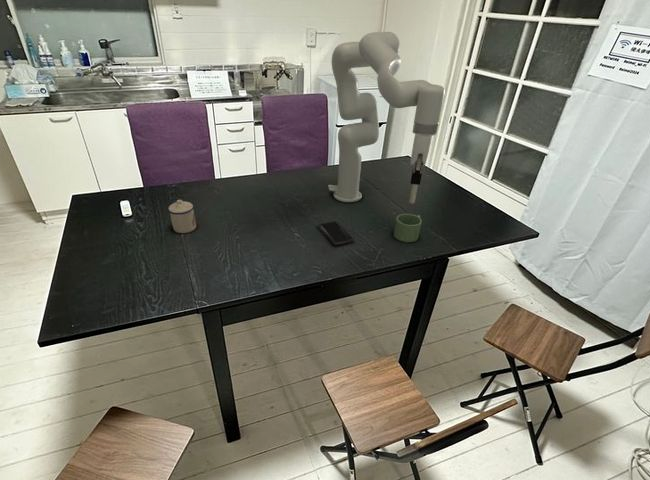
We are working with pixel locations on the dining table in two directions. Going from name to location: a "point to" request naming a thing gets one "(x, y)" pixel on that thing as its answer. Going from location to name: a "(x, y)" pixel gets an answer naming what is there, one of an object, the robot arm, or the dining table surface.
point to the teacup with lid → (182, 216)
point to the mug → (407, 227)
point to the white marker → (413, 192)
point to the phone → (335, 233)
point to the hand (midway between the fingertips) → (415, 182)
